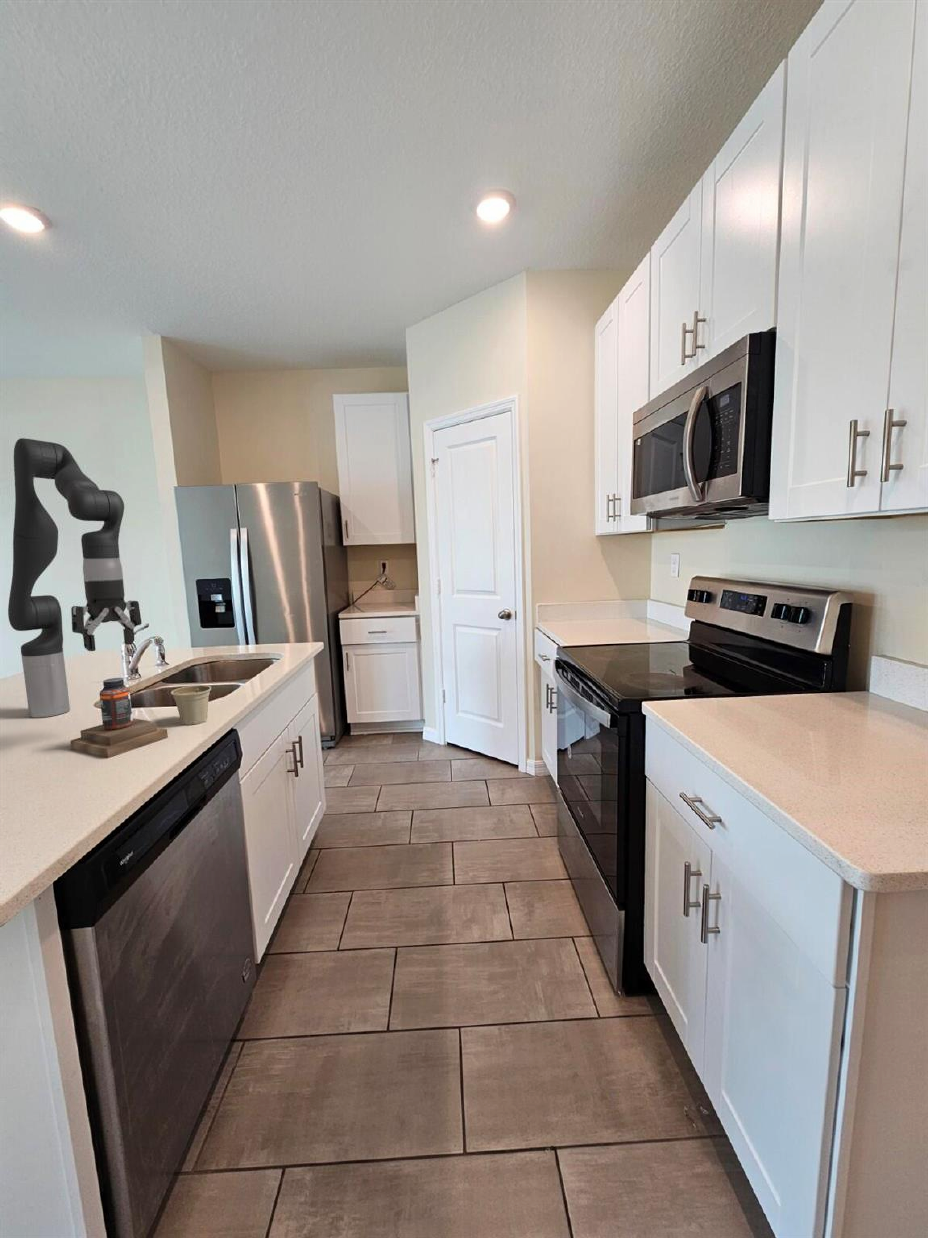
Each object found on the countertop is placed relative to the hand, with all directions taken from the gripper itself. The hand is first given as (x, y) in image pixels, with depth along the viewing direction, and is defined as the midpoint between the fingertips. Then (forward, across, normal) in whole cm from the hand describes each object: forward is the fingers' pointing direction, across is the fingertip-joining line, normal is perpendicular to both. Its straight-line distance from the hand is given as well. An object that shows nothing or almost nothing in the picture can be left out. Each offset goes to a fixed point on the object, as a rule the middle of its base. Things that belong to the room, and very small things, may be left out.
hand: (110, 647), depth 126 cm
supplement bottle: (+19, +1, +2) cm, 19 cm away
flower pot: (+23, -17, +4) cm, 29 cm away
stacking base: (+22, +1, +3) cm, 23 cm away
